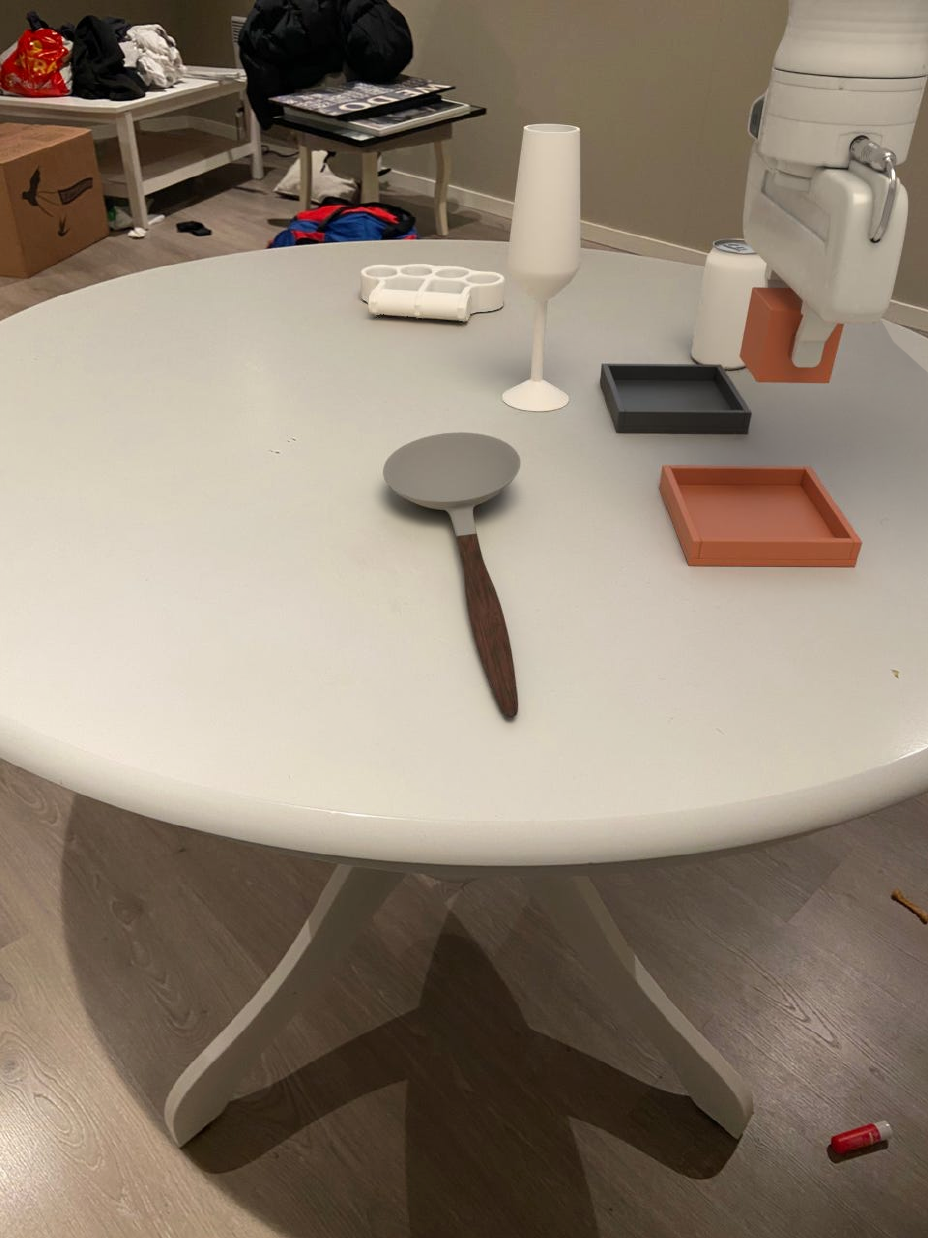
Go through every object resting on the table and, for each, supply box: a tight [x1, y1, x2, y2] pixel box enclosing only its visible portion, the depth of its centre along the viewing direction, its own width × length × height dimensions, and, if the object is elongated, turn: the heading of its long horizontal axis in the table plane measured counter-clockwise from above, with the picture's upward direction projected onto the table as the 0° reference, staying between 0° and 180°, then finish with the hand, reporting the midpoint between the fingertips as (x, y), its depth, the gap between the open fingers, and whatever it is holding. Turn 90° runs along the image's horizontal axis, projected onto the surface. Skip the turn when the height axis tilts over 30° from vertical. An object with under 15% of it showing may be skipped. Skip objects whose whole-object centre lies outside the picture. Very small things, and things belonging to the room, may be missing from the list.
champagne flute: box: [501, 123, 582, 412], centre depth 88 cm, size 7×7×24 cm
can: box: [691, 238, 767, 371], centre depth 100 cm, size 6×6×12 cm
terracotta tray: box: [658, 464, 863, 568], centre depth 74 cm, size 12×12×2 cm
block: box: [740, 287, 845, 384], centre depth 66 cm, size 5×5×5 cm
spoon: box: [382, 431, 521, 718], centre depth 68 cm, size 11×33×3 cm, turn 8°
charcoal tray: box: [599, 362, 753, 435], centre depth 92 cm, size 12×12×2 cm
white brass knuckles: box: [359, 263, 506, 323], centre depth 117 cm, size 3×18×15 cm
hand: (788, 347), depth 66 cm, fingers closed on block, 5 cm apart
